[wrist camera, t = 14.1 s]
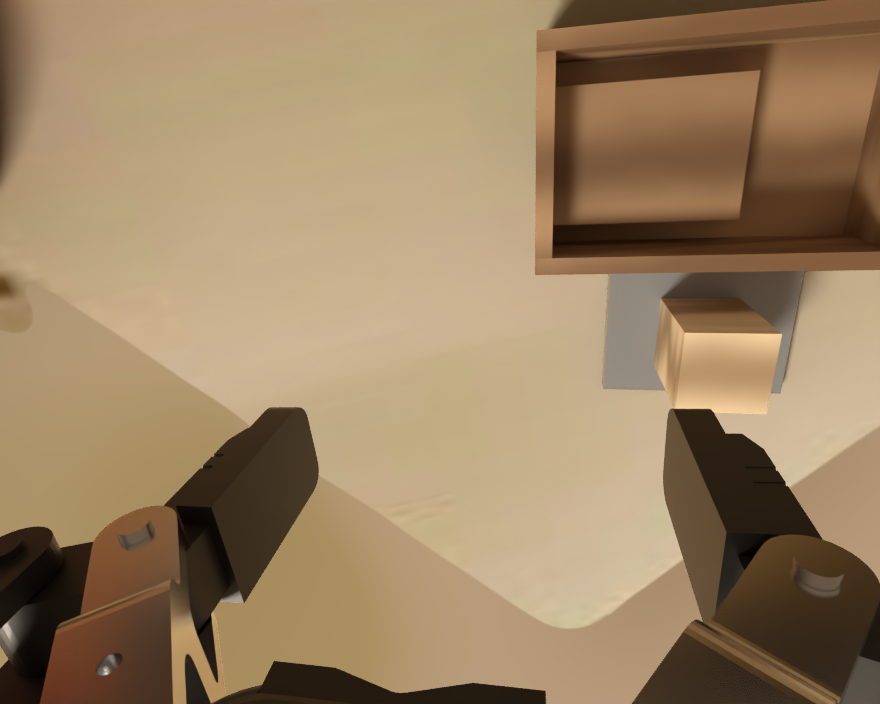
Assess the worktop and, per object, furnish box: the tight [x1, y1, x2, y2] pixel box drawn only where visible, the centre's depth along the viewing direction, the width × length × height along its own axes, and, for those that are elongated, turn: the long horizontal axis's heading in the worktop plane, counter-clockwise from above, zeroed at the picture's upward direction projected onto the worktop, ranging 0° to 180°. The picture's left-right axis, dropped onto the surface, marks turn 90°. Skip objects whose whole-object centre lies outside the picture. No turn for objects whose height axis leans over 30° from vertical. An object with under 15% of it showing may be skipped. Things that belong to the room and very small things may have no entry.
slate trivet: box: [602, 271, 804, 394], centre depth 37 cm, size 9×12×1 cm
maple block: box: [654, 298, 782, 414], centre depth 34 cm, size 5×5×7 cm
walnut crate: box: [535, 0, 880, 275], centre depth 31 cm, size 13×20×6 cm, turn 94°
